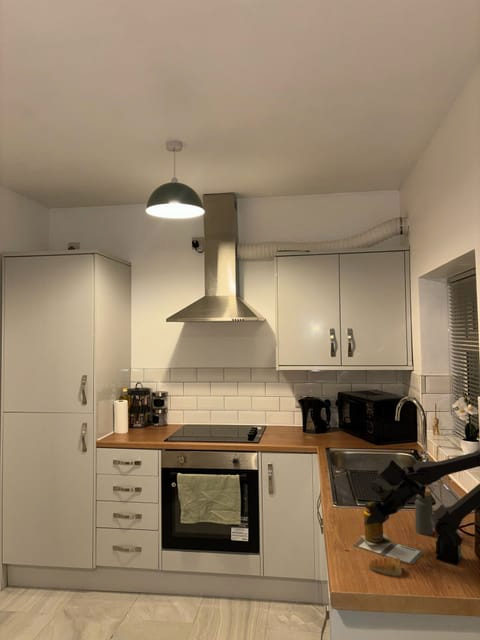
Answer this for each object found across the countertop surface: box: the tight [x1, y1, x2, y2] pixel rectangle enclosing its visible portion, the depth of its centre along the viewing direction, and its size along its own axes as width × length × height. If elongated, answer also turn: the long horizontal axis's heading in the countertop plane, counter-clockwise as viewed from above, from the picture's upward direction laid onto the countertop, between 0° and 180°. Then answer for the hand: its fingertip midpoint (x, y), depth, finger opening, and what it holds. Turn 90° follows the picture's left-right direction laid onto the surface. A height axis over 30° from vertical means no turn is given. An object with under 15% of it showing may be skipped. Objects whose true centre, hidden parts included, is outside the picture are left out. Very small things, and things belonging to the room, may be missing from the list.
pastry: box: [368, 556, 403, 577], centre depth 139 cm, size 9×7×4 cm
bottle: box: [414, 487, 434, 536], centre depth 165 cm, size 6×6×15 cm
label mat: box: [352, 537, 425, 566], centre depth 152 cm, size 20×11×1 cm, turn 49°
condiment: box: [360, 501, 394, 545], centre depth 156 cm, size 7×8×12 cm
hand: (371, 519), depth 156 cm, fingers closed on condiment, 6 cm apart
